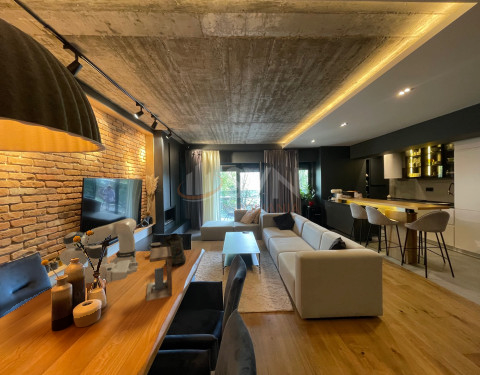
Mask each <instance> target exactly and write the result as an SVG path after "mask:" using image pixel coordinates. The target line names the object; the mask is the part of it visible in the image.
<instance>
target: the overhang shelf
mask: <svg viewBox="0 0 480 375" xmlns="http://www.w3.org/2000/svg"><path fill="white" fill-rule="evenodd" d="M149 251H150V253H149V263H154V262H162V261H165V260H167V265H166V279H165V280H164V279H163V282H164V289H160V290H155V281H154V282H148V283H147V286H146V287H147V288H146V289H147V290H146V299H145V301H146V302H148V301H152V300H159V299H163V298H167V297H172V296H173V272H172V271H173V269H172V268H173V267H172V255H171V250H170V246H169V247H168V246H165V247H160V248H152V247H150V250H149Z"/></svg>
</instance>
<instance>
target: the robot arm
mask: <svg viewBox="0 0 480 375" xmlns="http://www.w3.org/2000/svg"><path fill="white" fill-rule="evenodd" d="M136 227H137V221H136V220H135V219H133V218H131V217H130V218H129V217H128V218H125V219H121V220H119V221H115V222H112V223H109V224H106V225H102V226H98V227H95V228H92V229H91V231H93V232H94V234H93V235H90V236H88V235H86V232H83V231H72V232H69V233H67V234H66V235H65V236H63V238H62V242H63V244H64V245H65V247H66V249H64V250H62V252H61V253H60V255H59V260H60V261H61V262H62V264H64V265H65V266H67V267H69V266H68V265H69V264H70V260H71V259H73V258H79V262H80V263H82V264H83V265H82V266H84V265H85V264H86V263H87V266H84V267H85V279H86V283H85V284H90V283H95V282H94V280H95V279H94V276H93V274H94V271H96V270H97V264H98V262H99V258H100V255H101V251H102V245H103V244H97V243H101V242H105V241H106V240H105V238H107V237H109V236H110V235H111V239H114V238H116V237H117V239H118V250H117V252H115V257H114V258H113V259H112V260H110V262H109V263H108V247H107V248H106V250H105V253H104V256H103V259H102V262H101V265H100V268H99V273H100V278H101V279H102V280H101V281H106V283H107V284H108V283H112V282H117V281H122V280H124V279H126V278H127V277H128V275H131V274H134V273H137V272H138V266H139V262H138V261H137V259H136V256H137V252H136V251H137V250H136V239H135V236H134V230H135V229H136ZM75 236H80V237H81V243H82V244H83V245H84V248H85V249H86V251H87V254H88V256H89V259H90V261H91V263H92V265H93V267H94V270H93V268H92V267H91V265H90V263H89V261H88V260H87V258H86V256H85V254H84V253H83V251H82V250H81V249H80V248H79V247H77V246H73V245H72V244H76V242H73V238H74V237H75ZM88 238H89V240H88ZM104 240H105V241H104ZM87 241H88V243H87ZM91 244H96V245H91ZM103 279H105V280H103Z"/></svg>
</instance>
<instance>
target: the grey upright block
mask: <svg viewBox="0 0 480 375" xmlns="http://www.w3.org/2000/svg"><path fill="white" fill-rule="evenodd" d="M163 281H164V267H157V268H154V282H155V290H160V289H164V282H163Z"/></svg>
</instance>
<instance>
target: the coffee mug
mask: <svg viewBox="0 0 480 375" xmlns="http://www.w3.org/2000/svg"><path fill="white" fill-rule="evenodd" d="M161 246H162V243H161V242H153V243H151V244H149V245H148V247H147V249H148V250H149V251H150V250H151V248H160V247H161ZM149 247H150V248H149Z"/></svg>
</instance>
